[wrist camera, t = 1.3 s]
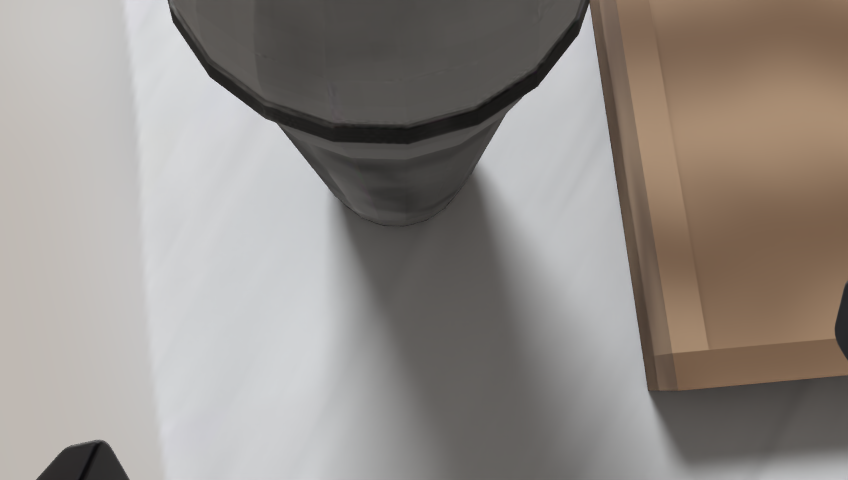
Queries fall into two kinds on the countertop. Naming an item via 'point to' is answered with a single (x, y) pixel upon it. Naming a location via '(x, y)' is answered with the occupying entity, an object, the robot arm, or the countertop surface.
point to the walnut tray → (730, 182)
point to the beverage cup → (382, 84)
